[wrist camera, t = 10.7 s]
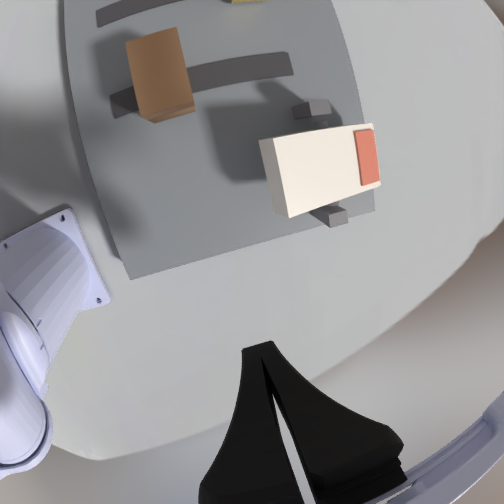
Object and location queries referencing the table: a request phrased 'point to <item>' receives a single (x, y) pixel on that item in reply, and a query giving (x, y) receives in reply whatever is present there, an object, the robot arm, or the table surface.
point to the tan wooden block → (240, 0)
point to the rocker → (319, 166)
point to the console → (205, 121)
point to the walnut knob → (160, 76)
